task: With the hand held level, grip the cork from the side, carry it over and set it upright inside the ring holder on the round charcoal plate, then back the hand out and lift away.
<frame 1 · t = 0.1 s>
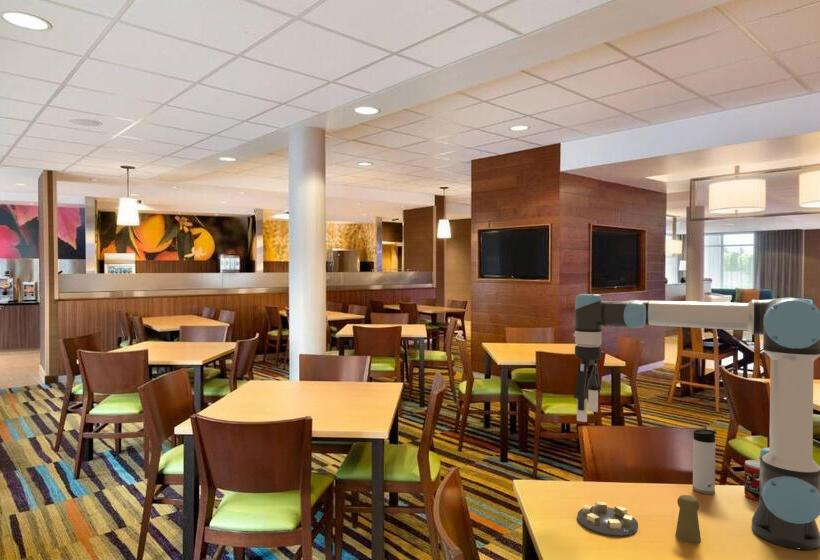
hand: (587, 416, 153), 28 cm above the table, tool pointing down, fingers open, 13 cm apart
canned food: (759, 499, 162), on the table
travel mug: (704, 491, 167), on the table
ring holder: (607, 522, 145), on the table
cork: (688, 538, 137), on the table
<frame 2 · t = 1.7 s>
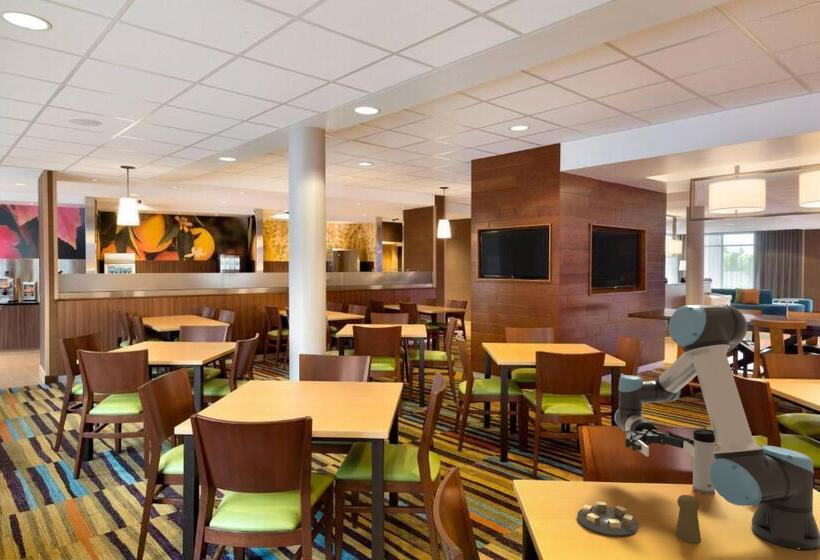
hand: (671, 452, 146), 20 cm above the table, tool horizontal, fingers open, 13 cm apart
nothing on the table moved.
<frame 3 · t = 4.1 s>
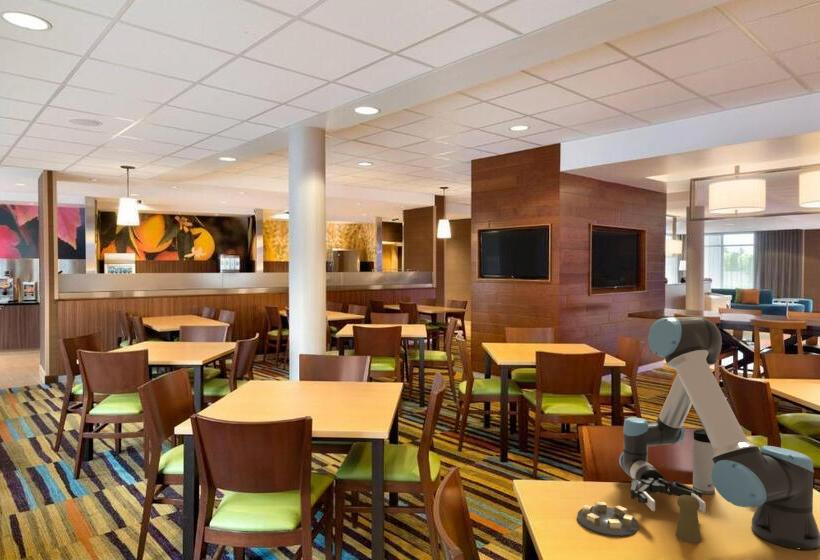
hand: (679, 506, 141), 6 cm above the table, tool horizontal, fingers open, 13 cm apart
nothing on the table moved.
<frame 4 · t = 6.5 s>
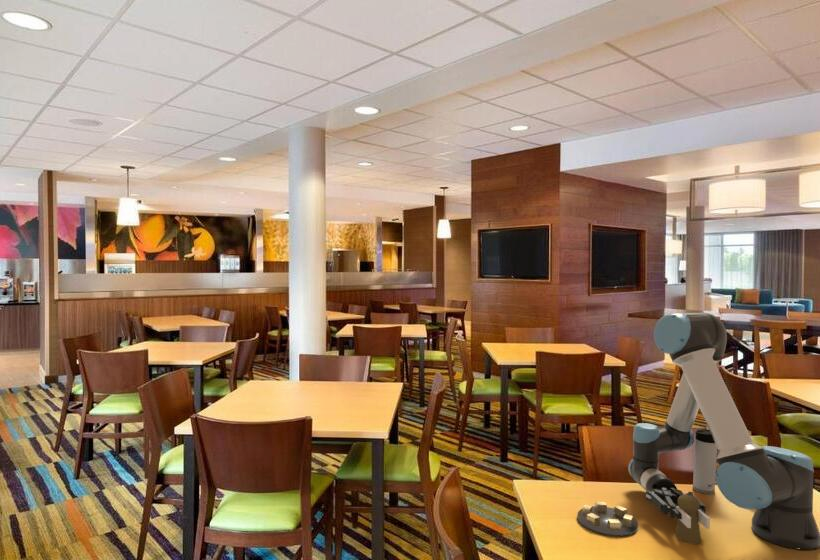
hand: (698, 523, 131), 7 cm above the table, tool horizontal, fingers closed on cork, 4 cm apart
travel mug: (704, 490, 167), on the table, touching arm
cork: (688, 538, 137), on the table, touching gripper
everything else where it was.
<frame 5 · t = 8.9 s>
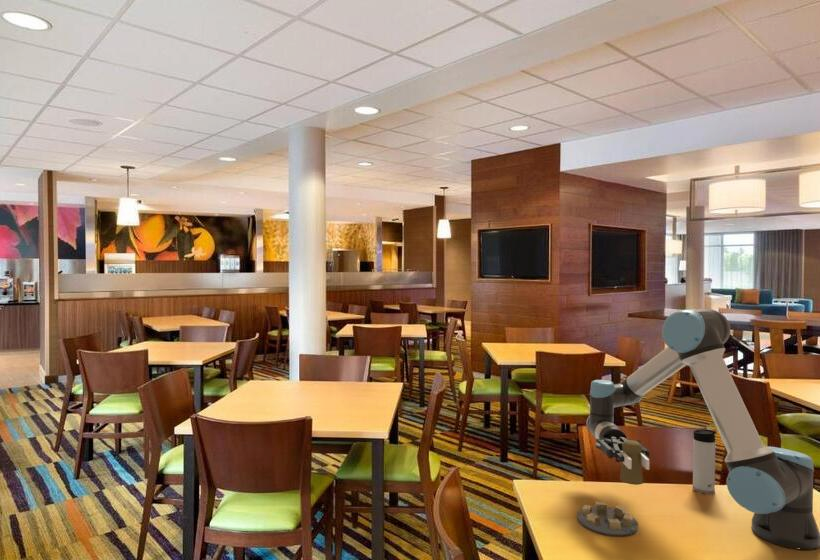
hand: (639, 464, 138), 19 cm above the table, tool horizontal, fingers closed on cork, 4 cm apart
travel mug: (704, 491, 167), on the table
cork: (631, 481, 144), point 12 cm above the table, touching gripper
everything else where it was.
when the fingers open (9 cm above the table, at t = 11.3 s): cork drops 2 cm, resting on ring holder.
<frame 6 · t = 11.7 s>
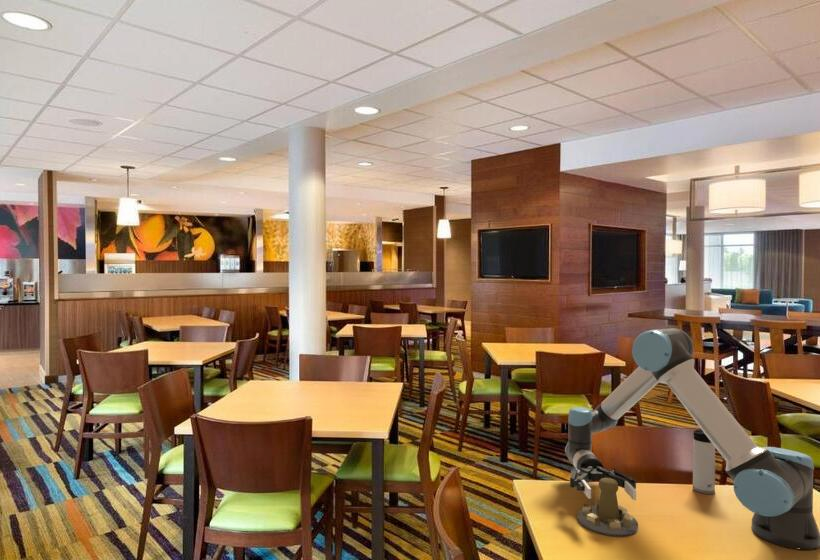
hand: (612, 494, 141), 9 cm above the table, tool horizontal, fingers open, 11 cm apart
cork: (608, 518, 145), point 1 cm above the table, touching ring holder
everything else where it was.
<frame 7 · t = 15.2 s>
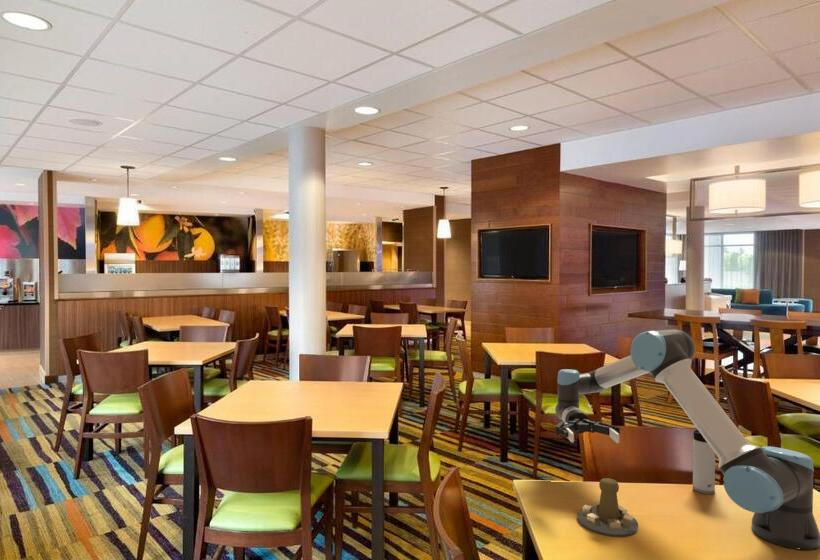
hand: (595, 438, 155), 21 cm above the table, tool horizontal, fingers open, 13 cm apart
nothing on the table moved.
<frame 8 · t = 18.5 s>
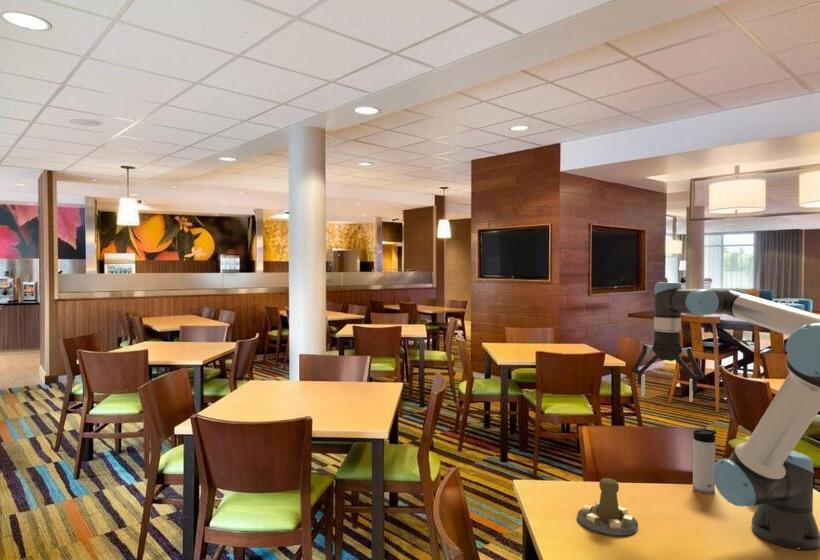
hand: (666, 398, 161), 32 cm above the table, tool pointing down, fingers open, 13 cm apart
nothing on the table moved.
at the end: cork 0.6 cm off-centre on the ring holder, point 0.8 cm above the ring holder's base; cork tilted 0°; the gripper is holding nothing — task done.
